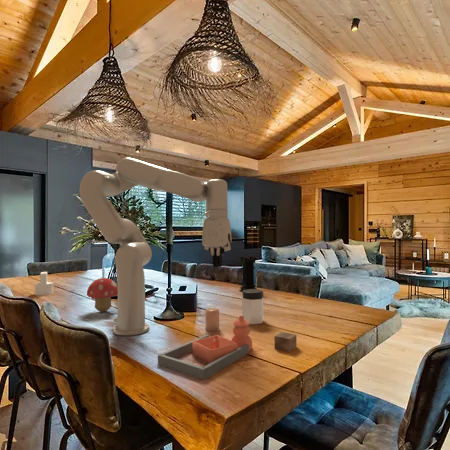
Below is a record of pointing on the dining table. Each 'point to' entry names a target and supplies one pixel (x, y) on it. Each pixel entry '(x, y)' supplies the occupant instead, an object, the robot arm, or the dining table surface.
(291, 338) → the metal block
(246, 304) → the jar
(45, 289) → the white stepped block
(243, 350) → the corral
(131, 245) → the robot arm
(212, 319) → the beige rounded cylinder
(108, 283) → the decorative mushroom
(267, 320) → the dining table surface
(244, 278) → the chess piece
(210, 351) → the pottery
